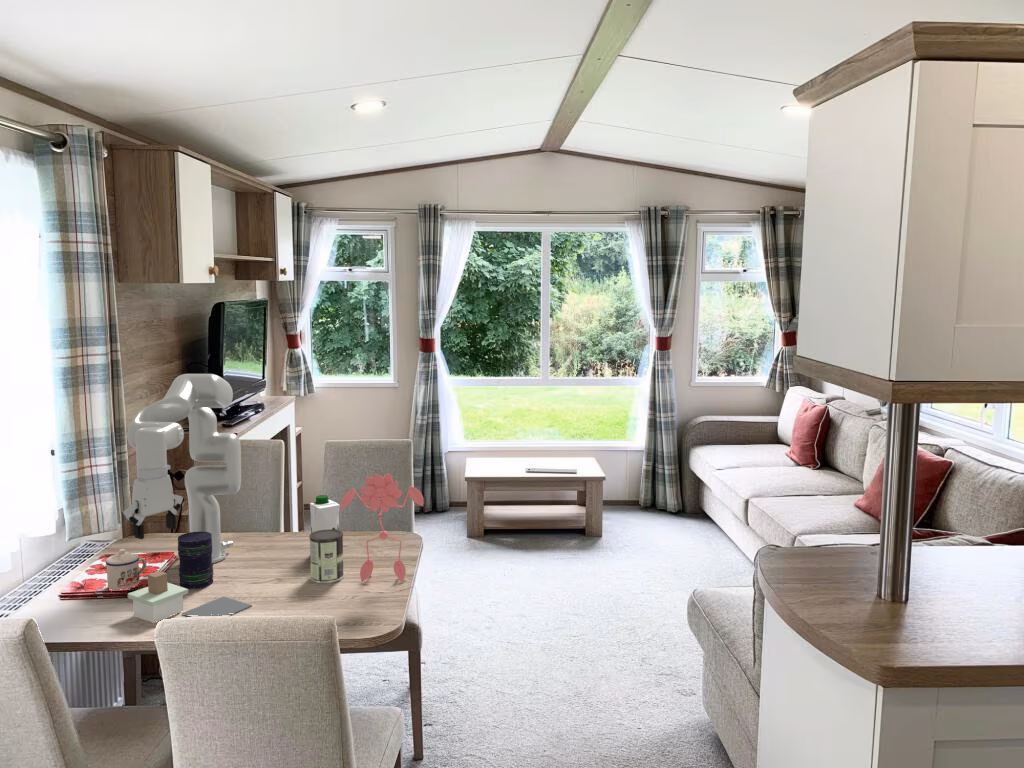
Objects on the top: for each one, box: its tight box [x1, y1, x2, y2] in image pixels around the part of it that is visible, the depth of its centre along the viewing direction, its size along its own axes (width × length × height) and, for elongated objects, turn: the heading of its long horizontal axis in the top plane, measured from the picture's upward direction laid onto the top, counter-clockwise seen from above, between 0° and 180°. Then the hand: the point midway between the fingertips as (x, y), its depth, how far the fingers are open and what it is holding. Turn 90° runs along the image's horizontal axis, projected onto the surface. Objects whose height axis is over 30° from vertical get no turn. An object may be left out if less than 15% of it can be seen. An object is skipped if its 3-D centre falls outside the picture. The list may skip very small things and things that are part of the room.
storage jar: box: [177, 531, 214, 591], centre depth 237 cm, size 10×10×15 cm
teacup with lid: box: [105, 548, 147, 590], centre depth 235 cm, size 12×9×12 cm
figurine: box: [340, 473, 425, 594], centre depth 237 cm, size 15×26×35 cm, turn 91°
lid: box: [127, 570, 189, 607], centre depth 215 cm, size 11×11×6 cm
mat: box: [181, 596, 253, 616], centre depth 218 cm, size 14×12×1 cm
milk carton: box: [309, 494, 341, 534], centre depth 263 cm, size 9×9×20 cm
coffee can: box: [309, 529, 345, 584], centre depth 243 cm, size 10×10×14 cm
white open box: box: [132, 595, 184, 624], centre depth 215 cm, size 9×9×6 cm
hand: (155, 533), depth 213 cm, fingers open, 9 cm apart
